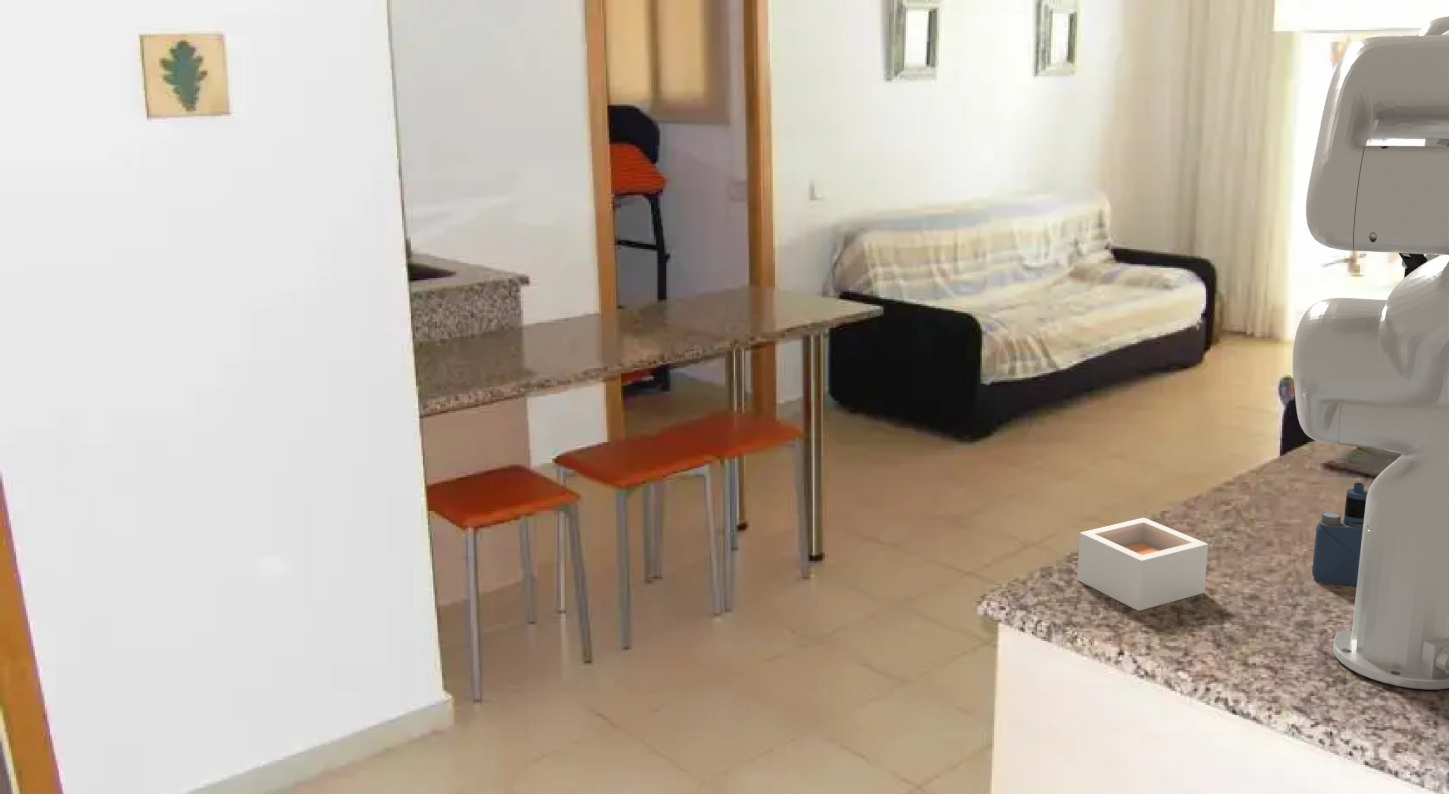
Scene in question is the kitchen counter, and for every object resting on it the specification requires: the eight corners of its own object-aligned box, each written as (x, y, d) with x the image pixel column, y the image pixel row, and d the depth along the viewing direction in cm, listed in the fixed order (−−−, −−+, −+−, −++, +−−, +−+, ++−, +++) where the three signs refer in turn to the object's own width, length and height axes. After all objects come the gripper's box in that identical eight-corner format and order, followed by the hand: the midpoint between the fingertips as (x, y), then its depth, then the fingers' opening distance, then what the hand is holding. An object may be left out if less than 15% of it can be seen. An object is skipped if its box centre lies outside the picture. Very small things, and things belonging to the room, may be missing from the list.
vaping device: (1362, 586, 145) (1373, 488, 142) (1313, 583, 147) (1323, 486, 144) (1357, 578, 148) (1368, 481, 145) (1309, 575, 149) (1318, 478, 146)
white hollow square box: (1204, 592, 145) (1208, 544, 143) (1138, 611, 141) (1141, 560, 139) (1141, 563, 154) (1144, 517, 152) (1077, 580, 149) (1079, 532, 148)
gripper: (1445, 146, 126) (1425, 315, 130) (1552, 137, 133) (1530, 297, 137) (1378, 143, 132) (1361, 304, 137) (1484, 135, 139) (1465, 287, 144)
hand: (1446, 300), depth 137 cm, fingers open, 9 cm apart
